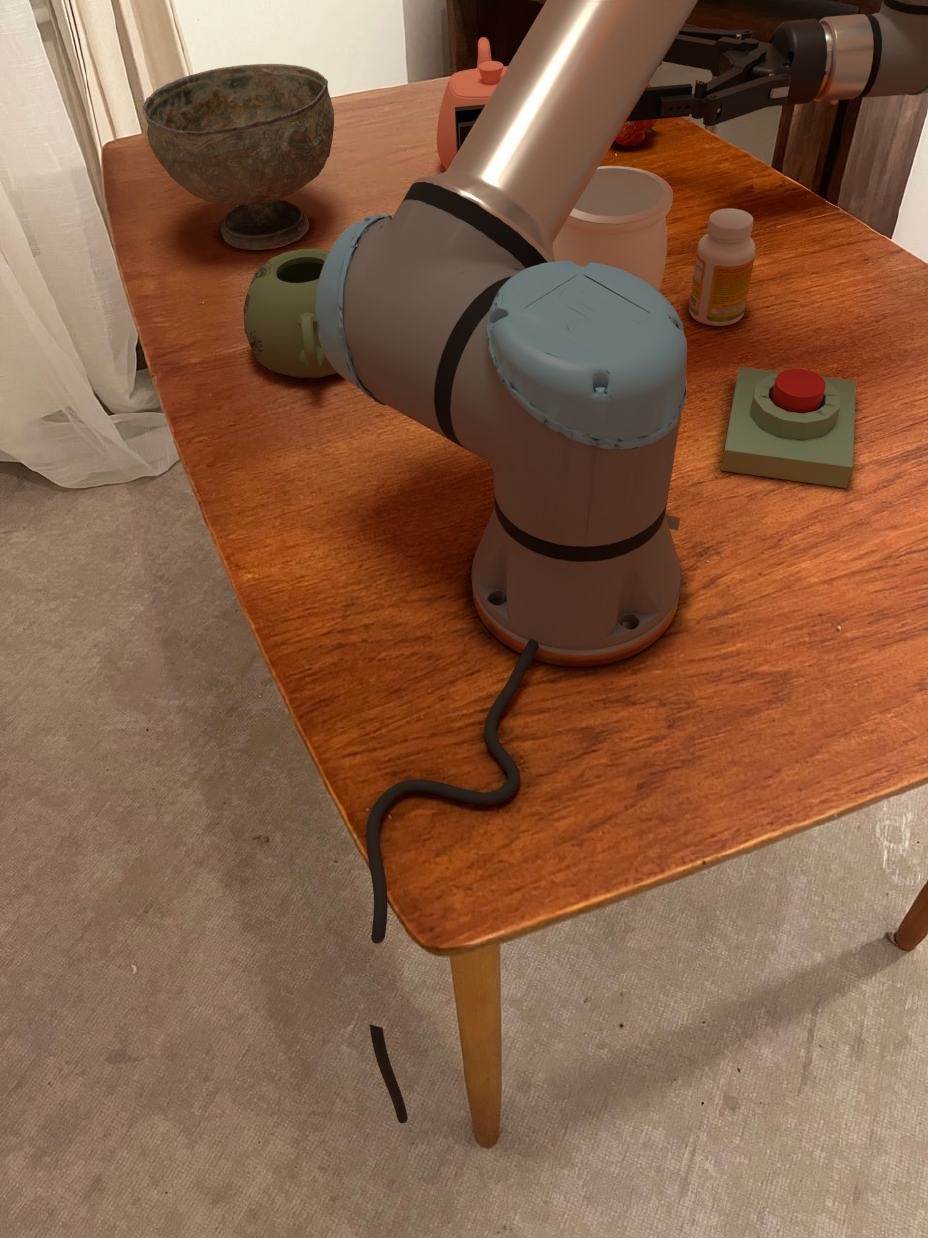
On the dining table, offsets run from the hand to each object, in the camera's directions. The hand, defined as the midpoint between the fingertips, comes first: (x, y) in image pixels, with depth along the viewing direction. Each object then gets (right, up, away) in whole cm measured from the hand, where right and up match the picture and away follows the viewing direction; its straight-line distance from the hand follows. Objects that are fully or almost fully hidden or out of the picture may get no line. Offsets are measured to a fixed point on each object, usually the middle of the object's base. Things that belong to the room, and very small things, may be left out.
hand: (608, 79), depth 99 cm
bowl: (-38, -10, +14) cm, 41 cm away
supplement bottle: (+10, -24, -2) cm, 26 cm away
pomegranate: (+6, +6, +25) cm, 27 cm away
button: (+13, -36, -18) cm, 42 cm away
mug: (-29, -29, -4) cm, 41 cm away
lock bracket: (-13, -11, +11) cm, 20 cm away
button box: (+13, -39, -15) cm, 44 cm away
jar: (-1, -28, -5) cm, 29 cm away
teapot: (-11, +1, +22) cm, 24 cm away
